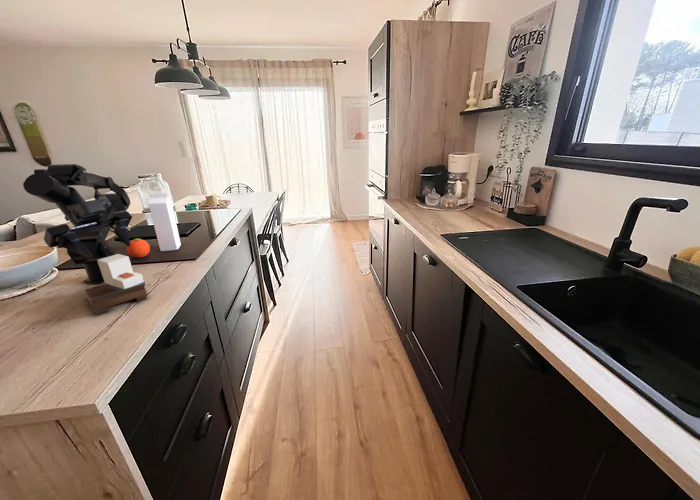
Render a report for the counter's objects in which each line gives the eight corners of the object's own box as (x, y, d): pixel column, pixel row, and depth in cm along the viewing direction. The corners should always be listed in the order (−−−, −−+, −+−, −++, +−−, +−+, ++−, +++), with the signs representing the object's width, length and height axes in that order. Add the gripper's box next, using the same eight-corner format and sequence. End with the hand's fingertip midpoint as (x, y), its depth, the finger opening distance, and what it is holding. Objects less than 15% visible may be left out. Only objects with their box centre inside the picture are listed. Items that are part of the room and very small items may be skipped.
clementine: (133, 254, 109) (127, 236, 107) (154, 251, 112) (149, 234, 109) (127, 261, 102) (121, 243, 100) (150, 258, 105) (145, 240, 102)
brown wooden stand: (87, 299, 78) (81, 284, 76) (135, 285, 85) (131, 271, 84) (96, 315, 70) (90, 299, 69) (148, 298, 78) (143, 283, 76)
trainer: (104, 286, 78) (95, 259, 75) (125, 279, 83) (117, 253, 80) (125, 294, 74) (116, 265, 72) (145, 285, 79) (138, 258, 76)
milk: (177, 250, 113) (164, 194, 106) (160, 251, 112) (145, 195, 104) (181, 245, 119) (169, 191, 111) (164, 246, 117) (151, 192, 109)
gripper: (30, 194, 66) (75, 247, 66) (118, 182, 81) (154, 225, 82) (27, 222, 71) (68, 271, 72) (109, 206, 87) (143, 245, 88)
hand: (112, 251), depth 78 cm, fingers open, 9 cm apart
